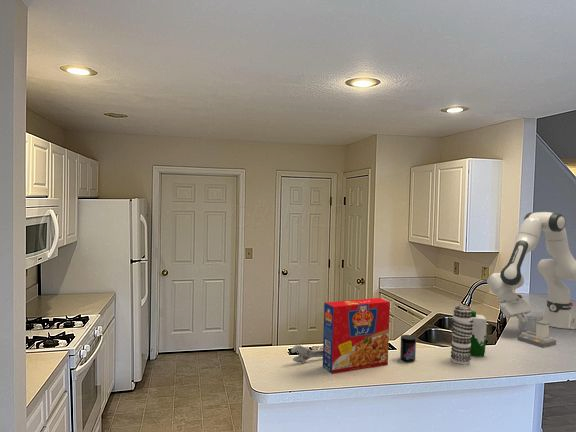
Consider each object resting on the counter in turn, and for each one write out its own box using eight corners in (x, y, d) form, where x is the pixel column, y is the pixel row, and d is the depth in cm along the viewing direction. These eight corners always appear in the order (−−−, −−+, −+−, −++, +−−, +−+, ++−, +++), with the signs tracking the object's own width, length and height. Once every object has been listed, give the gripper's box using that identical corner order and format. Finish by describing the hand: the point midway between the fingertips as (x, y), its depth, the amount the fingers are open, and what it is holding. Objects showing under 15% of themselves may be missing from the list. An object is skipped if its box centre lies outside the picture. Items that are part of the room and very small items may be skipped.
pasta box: (331, 374, 178) (333, 306, 176) (322, 367, 185) (324, 302, 184) (387, 365, 189) (389, 301, 188) (377, 358, 196) (379, 297, 195)
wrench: (347, 361, 199) (291, 365, 185) (344, 360, 201) (289, 363, 186) (349, 344, 199) (293, 346, 185) (346, 343, 201) (291, 345, 186)
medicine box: (532, 330, 247) (533, 315, 246) (536, 332, 242) (536, 317, 242) (518, 329, 247) (518, 314, 247) (521, 331, 243) (522, 316, 243)
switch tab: (540, 337, 226) (541, 320, 225) (548, 339, 222) (549, 322, 222) (535, 338, 223) (536, 321, 223) (544, 341, 220) (544, 323, 219)
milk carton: (462, 349, 211) (464, 309, 210) (482, 351, 209) (484, 310, 208) (466, 355, 202) (468, 313, 201) (487, 357, 200) (488, 315, 200)
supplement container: (400, 361, 193) (401, 338, 193) (399, 356, 200) (400, 334, 199) (416, 363, 192) (416, 340, 191) (414, 357, 198) (415, 335, 198)
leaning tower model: (461, 356, 202) (463, 303, 201) (476, 363, 193) (478, 308, 192) (445, 358, 199) (447, 304, 198) (460, 365, 190) (462, 309, 189)
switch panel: (530, 336, 234) (531, 330, 234) (555, 344, 223) (556, 337, 222) (517, 340, 228) (518, 333, 227) (542, 347, 216) (543, 340, 216)
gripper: (501, 298, 231) (518, 321, 223) (523, 294, 241) (540, 316, 233) (493, 305, 235) (509, 327, 227) (515, 301, 245) (531, 322, 238)
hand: (525, 322), depth 230 cm, fingers closed
